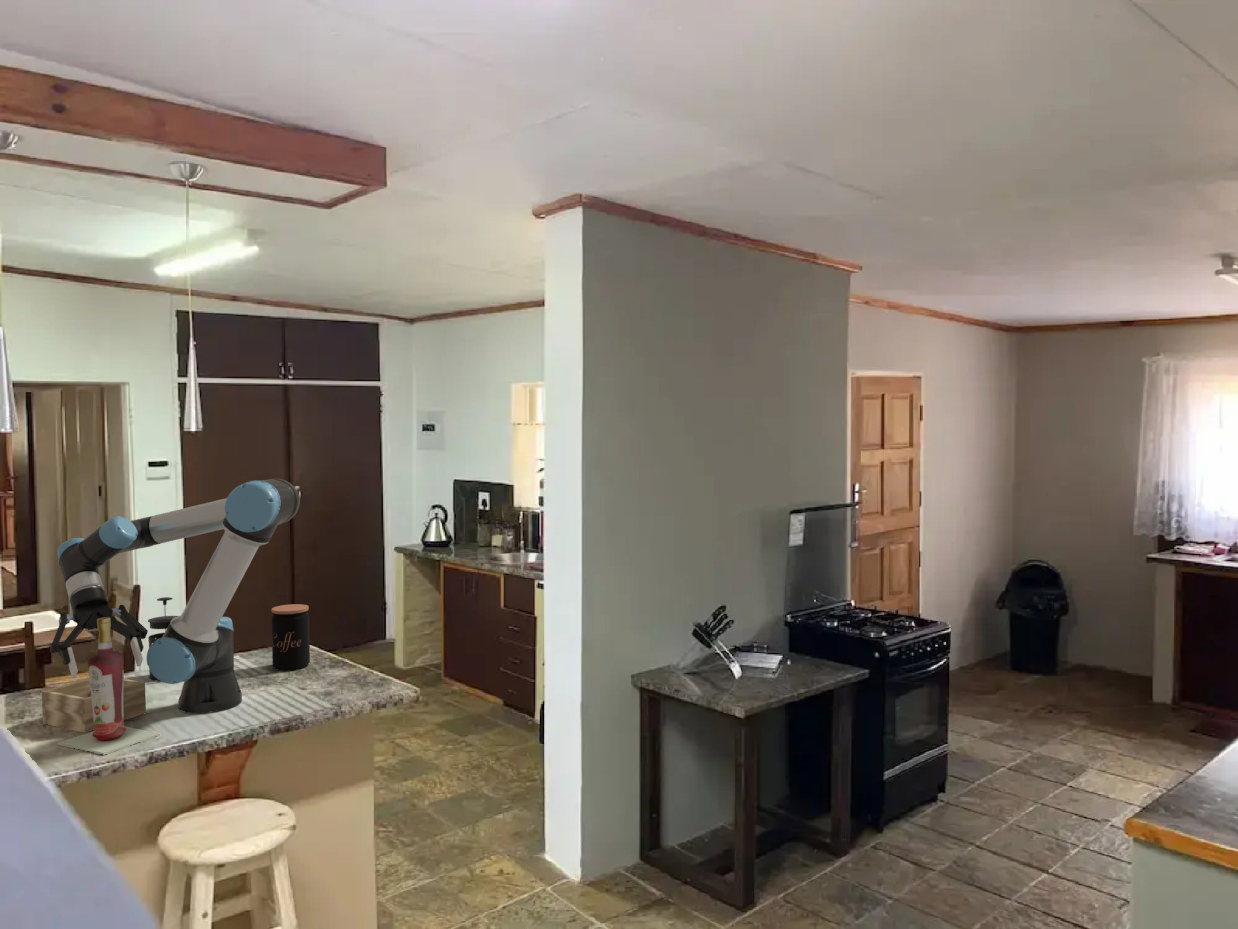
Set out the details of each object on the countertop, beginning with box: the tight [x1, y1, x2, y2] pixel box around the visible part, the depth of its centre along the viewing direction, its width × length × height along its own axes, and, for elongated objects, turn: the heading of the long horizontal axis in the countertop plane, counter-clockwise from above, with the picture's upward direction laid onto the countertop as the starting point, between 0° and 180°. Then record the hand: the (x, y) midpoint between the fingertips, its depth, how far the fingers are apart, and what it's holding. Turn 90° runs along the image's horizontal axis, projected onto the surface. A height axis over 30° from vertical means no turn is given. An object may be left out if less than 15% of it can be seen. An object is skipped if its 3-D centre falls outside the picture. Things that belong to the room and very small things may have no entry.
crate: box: [41, 678, 147, 734], centre depth 227 cm, size 16×16×8 cm
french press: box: [147, 596, 179, 681], centre depth 264 cm, size 12×9×23 cm
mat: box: [57, 725, 161, 756], centre depth 211 cm, size 16×14×1 cm
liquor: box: [87, 617, 126, 741], centre depth 210 cm, size 7×7×28 cm
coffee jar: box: [271, 603, 311, 671], centre depth 275 cm, size 11×11×18 cm
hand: (108, 668), depth 210 cm, fingers open, 13 cm apart
